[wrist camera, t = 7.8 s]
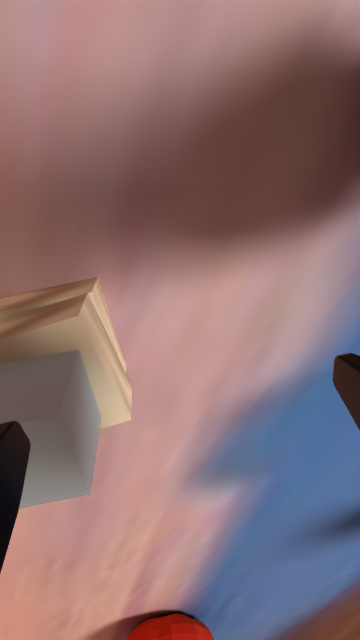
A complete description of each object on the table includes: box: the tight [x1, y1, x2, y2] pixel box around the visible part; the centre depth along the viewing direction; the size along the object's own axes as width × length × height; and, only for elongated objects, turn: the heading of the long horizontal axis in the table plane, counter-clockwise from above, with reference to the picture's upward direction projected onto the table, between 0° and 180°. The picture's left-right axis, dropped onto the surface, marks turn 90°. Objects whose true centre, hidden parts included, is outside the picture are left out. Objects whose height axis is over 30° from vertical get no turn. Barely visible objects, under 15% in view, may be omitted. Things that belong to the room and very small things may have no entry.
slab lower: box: [0, 278, 126, 373], centre depth 19 cm, size 7×7×3 cm
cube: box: [0, 350, 101, 508], centre depth 13 cm, size 4×4×4 cm
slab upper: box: [0, 293, 132, 429], centre depth 17 cm, size 7×7×3 cm
